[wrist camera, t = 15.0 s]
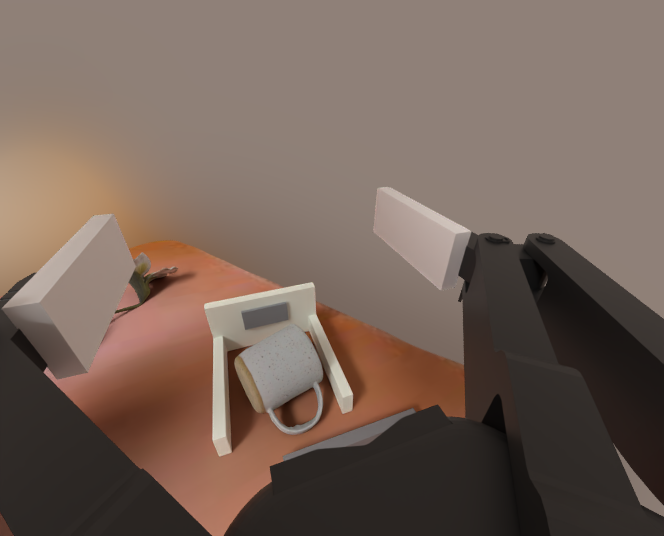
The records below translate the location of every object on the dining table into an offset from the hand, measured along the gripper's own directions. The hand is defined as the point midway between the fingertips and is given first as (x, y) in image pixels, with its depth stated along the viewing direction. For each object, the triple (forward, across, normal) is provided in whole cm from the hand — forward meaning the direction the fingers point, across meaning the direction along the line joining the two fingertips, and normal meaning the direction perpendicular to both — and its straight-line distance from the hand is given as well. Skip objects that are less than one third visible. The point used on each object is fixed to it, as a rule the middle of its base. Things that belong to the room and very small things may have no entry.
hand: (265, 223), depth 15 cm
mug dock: (+10, 0, -25) cm, 27 cm away
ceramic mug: (+7, +1, -25) cm, 26 cm away
